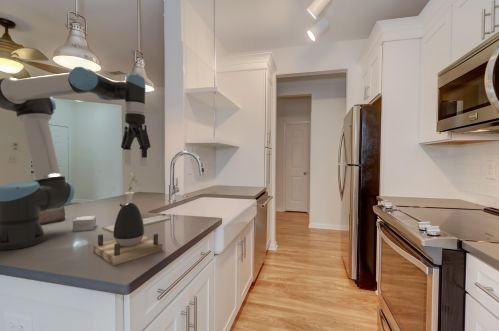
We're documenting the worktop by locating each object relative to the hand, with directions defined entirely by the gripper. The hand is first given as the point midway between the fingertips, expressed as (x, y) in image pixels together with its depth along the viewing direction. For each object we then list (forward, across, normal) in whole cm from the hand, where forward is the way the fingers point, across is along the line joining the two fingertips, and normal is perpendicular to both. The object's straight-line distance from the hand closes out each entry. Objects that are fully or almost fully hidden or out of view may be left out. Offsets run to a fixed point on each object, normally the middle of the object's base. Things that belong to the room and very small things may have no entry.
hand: (134, 165), depth 103 cm
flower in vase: (+31, +38, -16) cm, 52 cm away
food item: (+31, +56, +17) cm, 66 cm away
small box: (+31, +31, +9) cm, 45 cm away
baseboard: (+31, +21, -12) cm, 40 cm away
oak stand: (+31, -12, +8) cm, 34 cm away
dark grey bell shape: (+28, -12, +8) cm, 32 cm away
